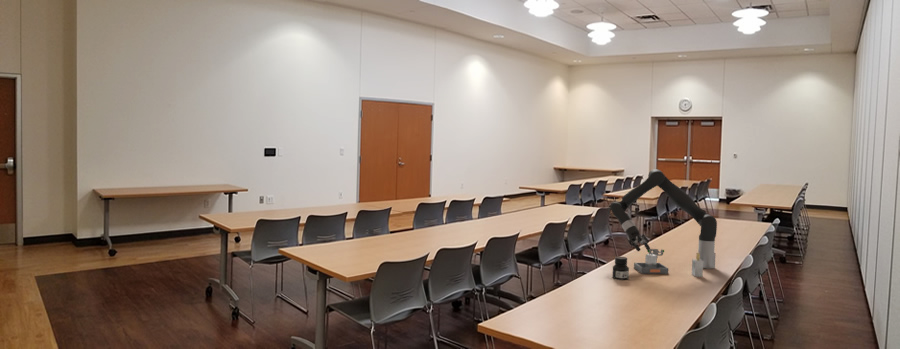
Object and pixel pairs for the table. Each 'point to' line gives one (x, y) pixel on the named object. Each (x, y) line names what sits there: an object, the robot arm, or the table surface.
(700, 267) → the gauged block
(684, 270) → the table surface
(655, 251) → the mechanical component
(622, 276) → the ink bottle
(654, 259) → the block
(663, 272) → the tray
